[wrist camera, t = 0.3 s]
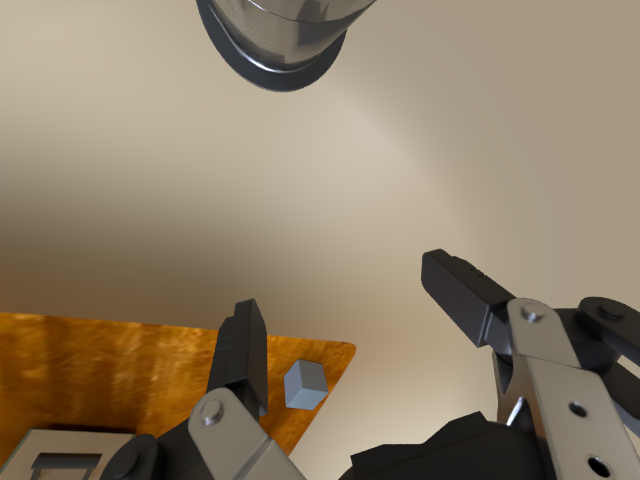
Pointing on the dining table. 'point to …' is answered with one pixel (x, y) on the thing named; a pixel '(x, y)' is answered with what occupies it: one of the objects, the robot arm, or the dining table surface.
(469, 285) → the robot arm
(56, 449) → the drawer
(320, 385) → the block
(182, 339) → the dining table surface
